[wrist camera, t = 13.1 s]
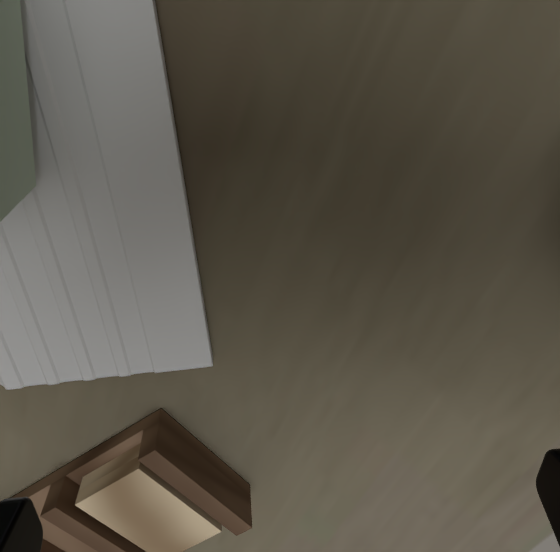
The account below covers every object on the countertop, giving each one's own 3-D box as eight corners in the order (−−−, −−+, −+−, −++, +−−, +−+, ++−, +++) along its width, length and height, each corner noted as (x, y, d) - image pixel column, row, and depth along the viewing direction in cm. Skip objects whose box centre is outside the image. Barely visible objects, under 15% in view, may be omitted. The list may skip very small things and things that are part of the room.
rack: (161, 408, 25) (154, 450, 23) (249, 484, 28) (252, 527, 26) (-7, 508, 27) (-28, 554, 25) (94, 567, 31) (84, 613, 29)
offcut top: (141, 454, 24) (138, 468, 23) (221, 517, 27) (221, 531, 26) (78, 490, 25) (74, 505, 24) (163, 547, 28) (162, 561, 27)
